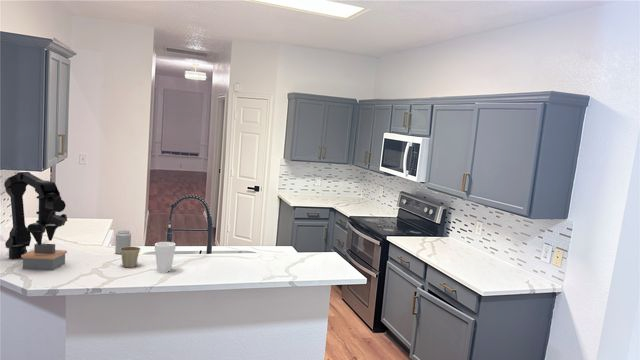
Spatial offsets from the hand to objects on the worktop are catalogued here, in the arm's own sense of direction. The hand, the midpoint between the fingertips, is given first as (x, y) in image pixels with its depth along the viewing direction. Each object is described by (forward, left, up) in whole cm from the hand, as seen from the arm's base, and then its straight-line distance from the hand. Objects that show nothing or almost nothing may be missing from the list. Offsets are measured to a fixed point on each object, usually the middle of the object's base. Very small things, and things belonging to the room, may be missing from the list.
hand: (45, 242), depth 208 cm
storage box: (0, 0, -12) cm, 12 cm away
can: (+23, +34, -12) cm, 43 cm away
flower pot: (+35, +10, -12) cm, 38 cm away
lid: (0, 0, -6) cm, 6 cm away
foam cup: (+53, +5, -12) cm, 55 cm away
